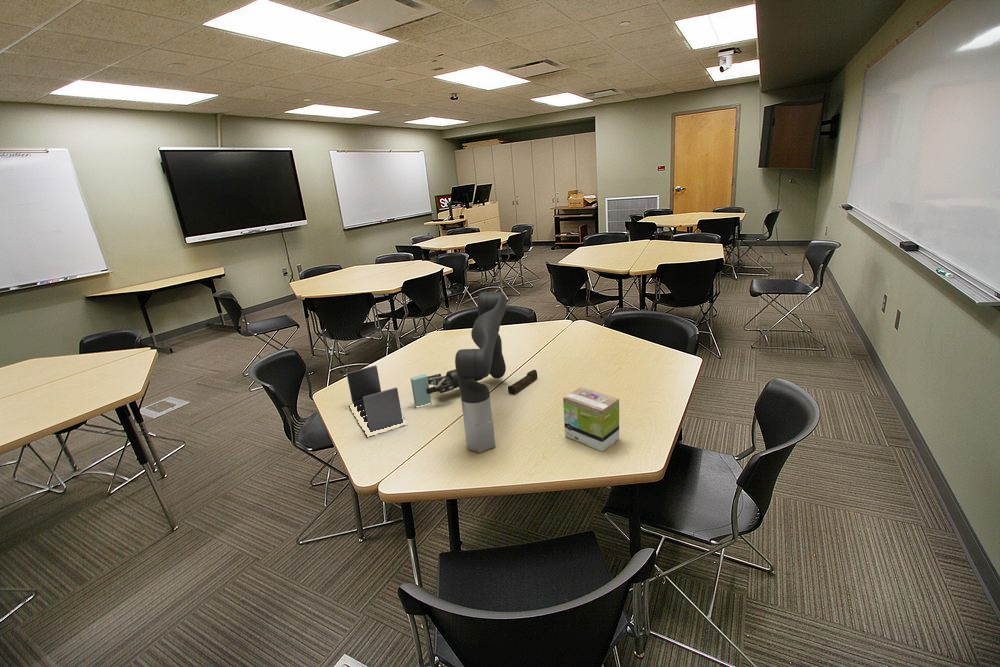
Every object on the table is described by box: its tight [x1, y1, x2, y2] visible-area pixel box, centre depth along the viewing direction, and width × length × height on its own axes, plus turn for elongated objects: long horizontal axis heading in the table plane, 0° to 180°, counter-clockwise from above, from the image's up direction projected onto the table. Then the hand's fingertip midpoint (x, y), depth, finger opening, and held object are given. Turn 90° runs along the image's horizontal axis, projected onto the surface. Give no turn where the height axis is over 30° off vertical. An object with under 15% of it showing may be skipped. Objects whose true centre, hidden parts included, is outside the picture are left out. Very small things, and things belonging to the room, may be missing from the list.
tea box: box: [562, 386, 620, 452], centre depth 147 cm, size 15×10×15 cm, turn 45°
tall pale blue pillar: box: [410, 373, 432, 407], centre depth 182 cm, size 3×6×12 cm, turn 119°
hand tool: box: [507, 369, 538, 395], centre depth 191 cm, size 19×4×5 cm, turn 140°
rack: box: [345, 364, 403, 432], centre depth 175 cm, size 30×15×15 cm, turn 30°
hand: (422, 388), depth 182 cm, fingers open, 8 cm apart
